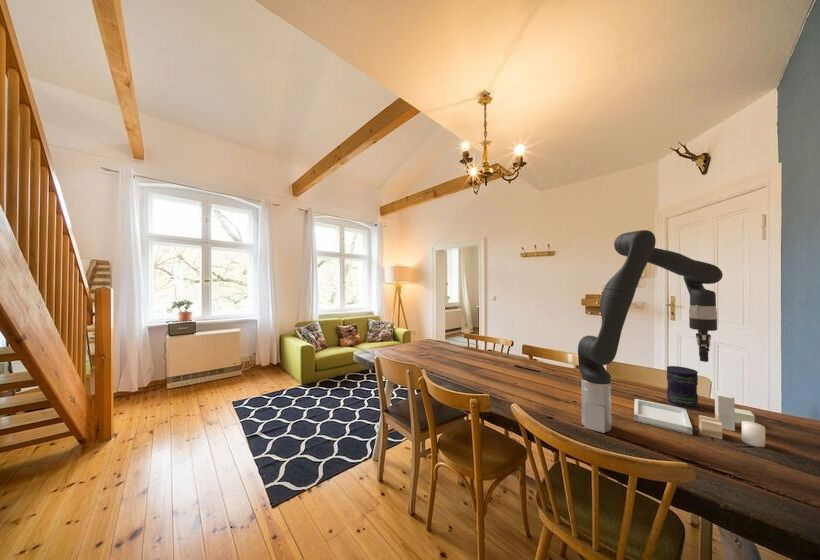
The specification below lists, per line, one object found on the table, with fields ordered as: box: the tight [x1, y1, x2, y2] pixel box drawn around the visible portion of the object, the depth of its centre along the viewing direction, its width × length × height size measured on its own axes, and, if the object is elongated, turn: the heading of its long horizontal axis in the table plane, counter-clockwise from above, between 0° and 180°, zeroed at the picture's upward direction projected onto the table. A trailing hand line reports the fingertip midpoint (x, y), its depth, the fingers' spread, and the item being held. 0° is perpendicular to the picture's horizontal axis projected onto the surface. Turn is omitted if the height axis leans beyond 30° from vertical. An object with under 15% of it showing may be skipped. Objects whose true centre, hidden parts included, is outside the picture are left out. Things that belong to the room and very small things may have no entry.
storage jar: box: [666, 365, 699, 410], centre depth 123 cm, size 10×10×15 cm
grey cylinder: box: [741, 421, 766, 448], centre depth 94 cm, size 5×5×6 cm
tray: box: [633, 398, 693, 436], centre depth 111 cm, size 18×16×2 cm
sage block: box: [735, 407, 756, 425], centre depth 107 cm, size 5×5×4 cm
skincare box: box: [714, 390, 736, 432], centre depth 104 cm, size 6×4×12 cm
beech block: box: [698, 414, 723, 440], centre depth 100 cm, size 5×5×5 cm
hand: (703, 358), depth 109 cm, fingers open, 8 cm apart
